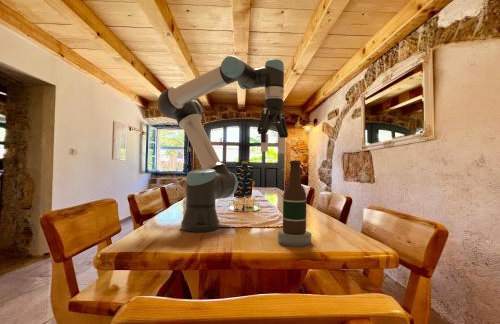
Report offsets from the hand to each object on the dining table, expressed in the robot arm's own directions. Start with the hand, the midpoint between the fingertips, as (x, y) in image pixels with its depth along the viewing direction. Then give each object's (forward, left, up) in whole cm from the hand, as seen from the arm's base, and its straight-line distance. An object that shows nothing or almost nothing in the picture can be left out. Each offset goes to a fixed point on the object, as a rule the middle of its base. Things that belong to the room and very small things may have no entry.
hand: (273, 152), depth 109 cm
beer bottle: (+15, -11, -28) cm, 33 cm away
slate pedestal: (+15, -11, -31) cm, 36 cm away
